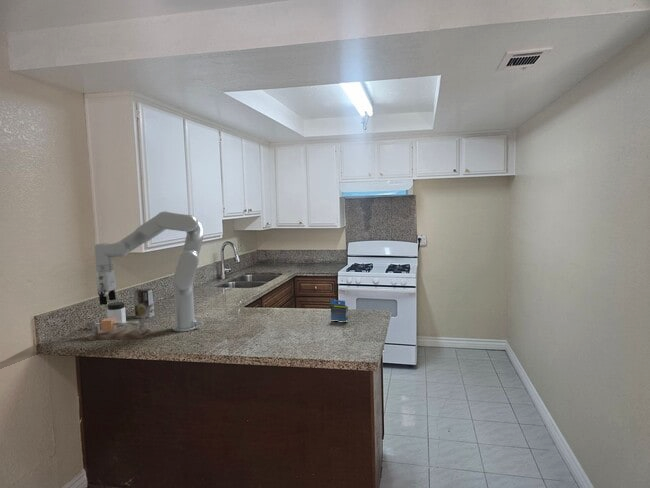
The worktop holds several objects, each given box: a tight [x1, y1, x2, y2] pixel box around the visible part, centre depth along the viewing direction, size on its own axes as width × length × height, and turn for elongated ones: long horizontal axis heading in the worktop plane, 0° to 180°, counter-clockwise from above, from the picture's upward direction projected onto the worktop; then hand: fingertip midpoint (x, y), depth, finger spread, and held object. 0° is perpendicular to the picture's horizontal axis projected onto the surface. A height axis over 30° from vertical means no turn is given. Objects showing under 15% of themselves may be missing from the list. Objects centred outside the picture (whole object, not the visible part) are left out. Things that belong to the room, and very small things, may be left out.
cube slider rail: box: [86, 318, 151, 341], centre depth 211 cm, size 28×10×8 cm, turn 94°
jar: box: [106, 301, 127, 328], centre depth 231 cm, size 9×8×12 cm
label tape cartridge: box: [330, 299, 349, 321], centre depth 229 cm, size 9×4×12 cm, turn 65°
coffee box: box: [133, 288, 156, 319], centre depth 248 cm, size 9×6×16 cm
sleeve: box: [100, 317, 117, 331], centre depth 210 cm, size 5×5×5 cm
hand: (108, 302), depth 210 cm, fingers open, 9 cm apart
